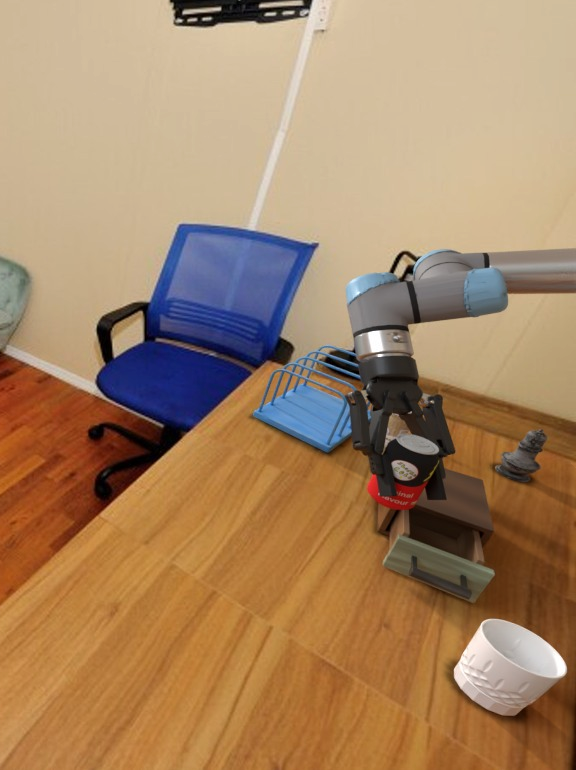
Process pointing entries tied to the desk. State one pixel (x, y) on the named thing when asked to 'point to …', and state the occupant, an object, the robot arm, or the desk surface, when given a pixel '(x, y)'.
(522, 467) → the grey chess piece
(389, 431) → the sprinkles bottle
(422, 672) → the desk surface
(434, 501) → the cabinet
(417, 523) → the drawer
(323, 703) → the desk surface
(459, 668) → the white cup
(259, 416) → the file sorter
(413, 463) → the beverage can
